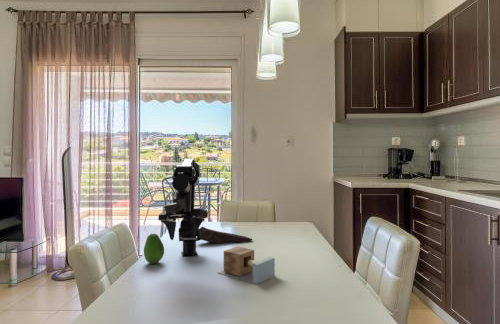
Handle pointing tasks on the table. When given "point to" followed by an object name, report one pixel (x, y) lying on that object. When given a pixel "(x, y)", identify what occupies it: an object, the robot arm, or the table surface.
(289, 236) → the table surface
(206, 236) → the stone
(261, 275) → the gray angle bracket
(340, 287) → the table surface
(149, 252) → the fruit
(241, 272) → the walnut block
